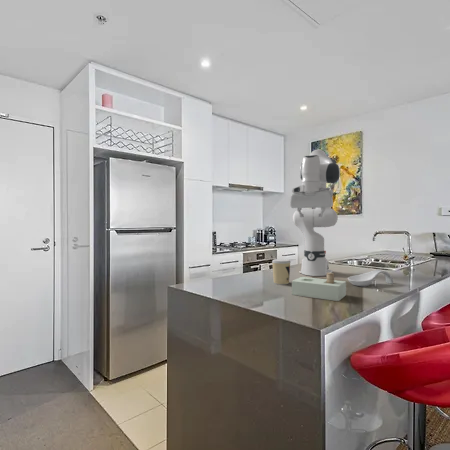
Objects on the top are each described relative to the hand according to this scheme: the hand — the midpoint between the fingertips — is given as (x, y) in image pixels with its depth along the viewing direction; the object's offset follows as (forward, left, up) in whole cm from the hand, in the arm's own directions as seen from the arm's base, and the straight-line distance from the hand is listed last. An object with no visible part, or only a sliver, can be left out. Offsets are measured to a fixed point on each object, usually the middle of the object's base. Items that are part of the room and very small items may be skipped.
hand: (311, 217), depth 151 cm
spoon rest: (-22, +23, -35) cm, 47 cm away
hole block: (+13, +8, -34) cm, 37 cm away
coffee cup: (-1, -16, -34) cm, 38 cm away
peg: (+13, +13, -34) cm, 39 cm away
